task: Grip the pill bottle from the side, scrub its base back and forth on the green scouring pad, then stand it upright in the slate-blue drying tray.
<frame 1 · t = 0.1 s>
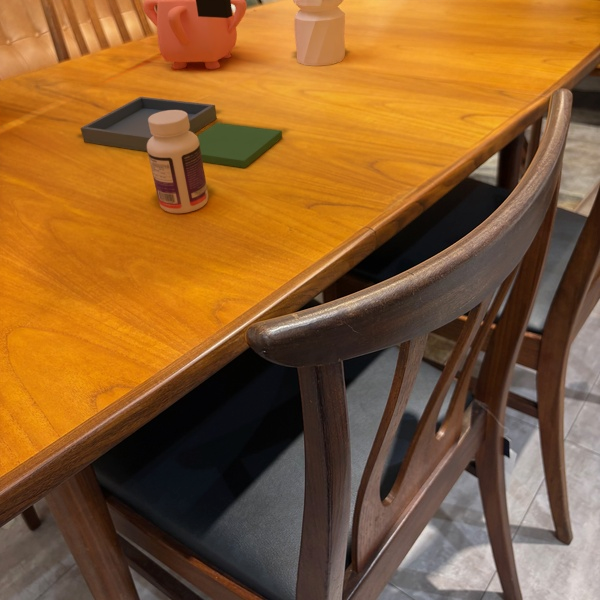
pink handled pot: (204, 61, 113), on the table
scouring pad: (230, 147, 79), on the table
vase: (320, 59, 109), on the table
pill bottle: (184, 204, 67), on the table
drying tray: (152, 130, 86), on the table
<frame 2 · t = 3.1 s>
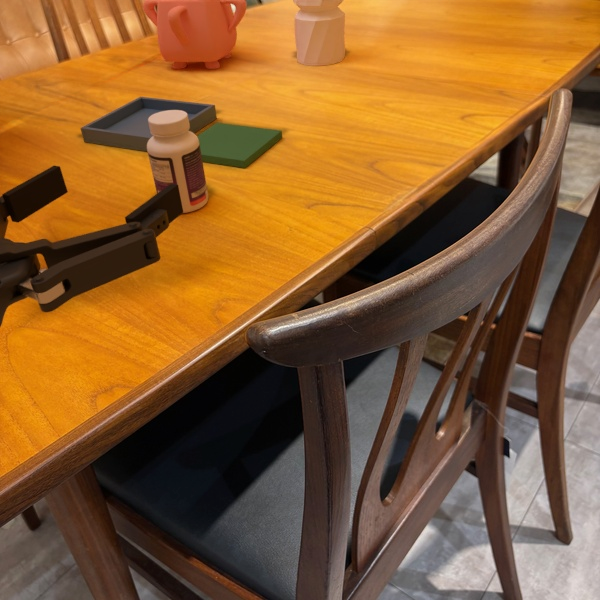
hand: (116, 187, 57), 6 cm above the table, tool horizontal, fingers open, 13 cm apart
nothing on the table moved.
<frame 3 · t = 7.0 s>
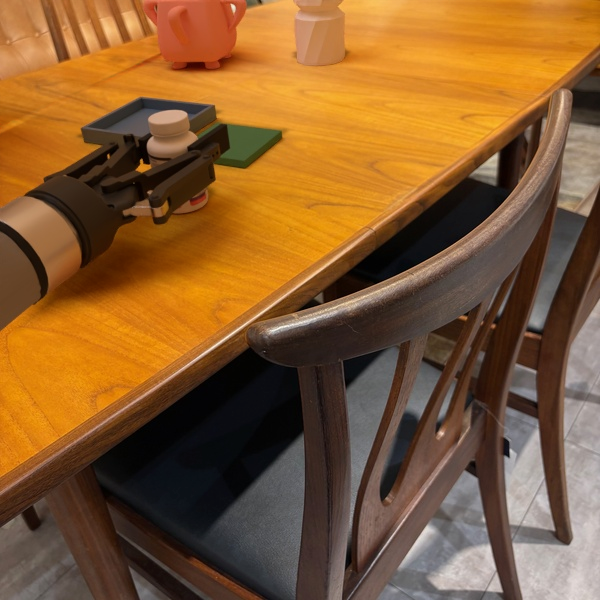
hand: (201, 133, 67), 6 cm above the table, tool horizontal, fingers closed on pill bottle, 5 cm apart
pill bottle: (184, 204, 67), on the table, touching gripper
everything else where it was.
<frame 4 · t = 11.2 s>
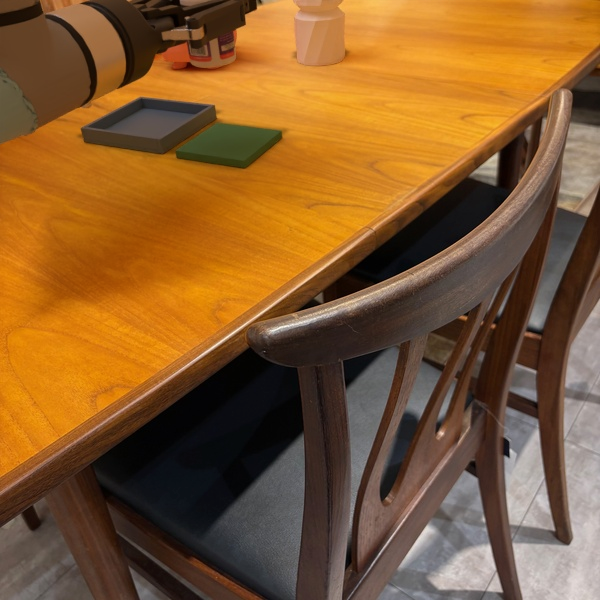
pill bottle: (213, 63, 71), point 11 cm above the table, touching gripper
everything else where it was.
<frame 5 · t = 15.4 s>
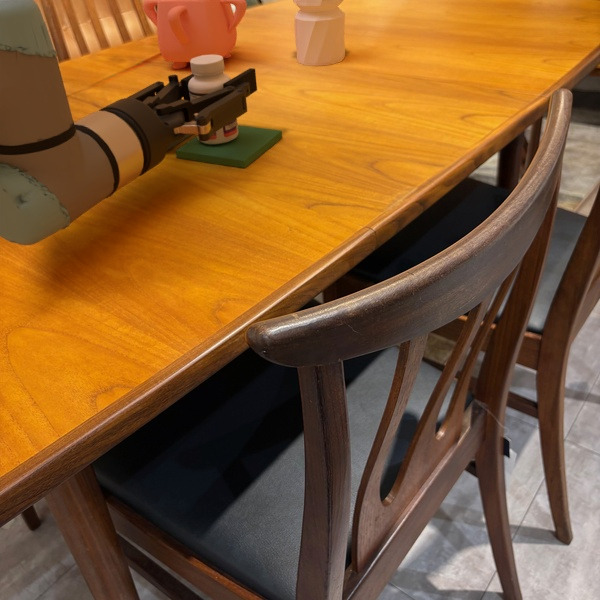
hand: (232, 77, 79), 7 cm above the table, tool horizontal, fingers closed on pill bottle, 5 cm apart
pill bottle: (218, 138, 79), point 1 cm above the table, touching gripper
everything else where it was.
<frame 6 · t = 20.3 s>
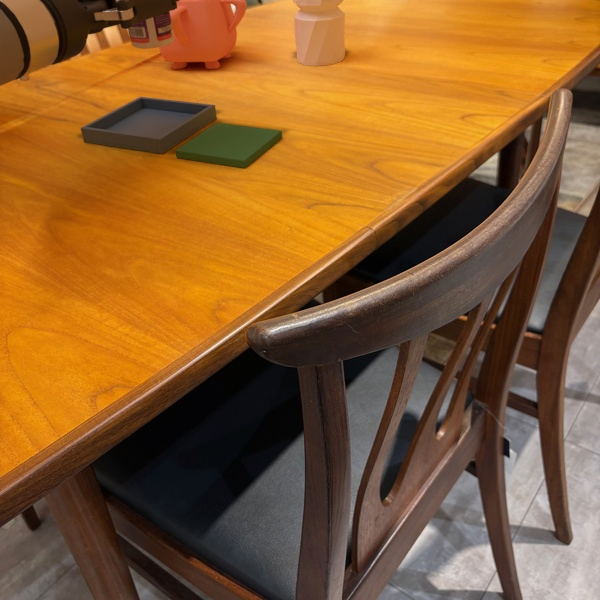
pill bottle: (153, 45, 77), point 12 cm above the table, touching gripper
everything else where it was.
when the fingers open (6 cm above the table, at t = 24.1 s): pill bottle stays where it is, resting on drying tray.
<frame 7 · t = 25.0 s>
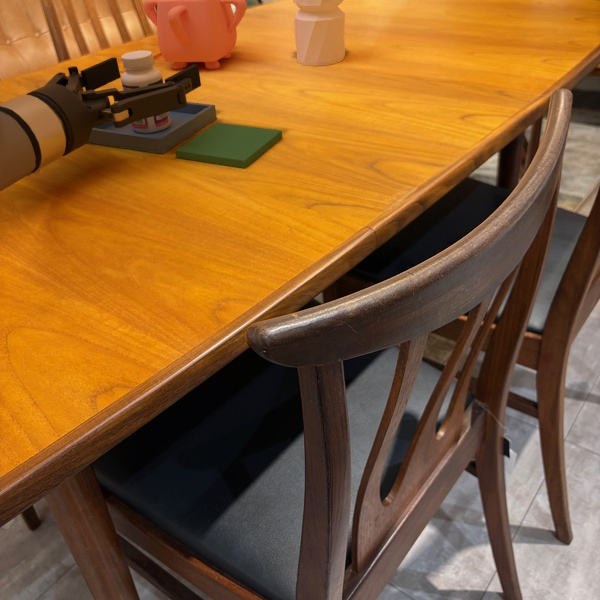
hand: (155, 71, 84), 7 cm above the table, tool horizontal, fingers open, 13 cm apart
pill bottle: (152, 128, 85), resting on drying tray
everything else where it was.
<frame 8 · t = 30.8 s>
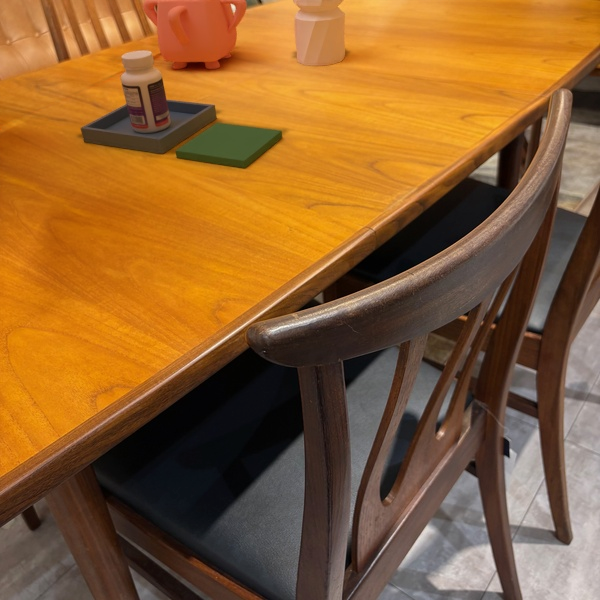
nothing on the table moved.
at the end: pill bottle inside the target area in the drying tray (0.1 cm from its centre), point 0.3 cm above the drying tray's base; pill bottle tilted 0°; the gripper is holding nothing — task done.
